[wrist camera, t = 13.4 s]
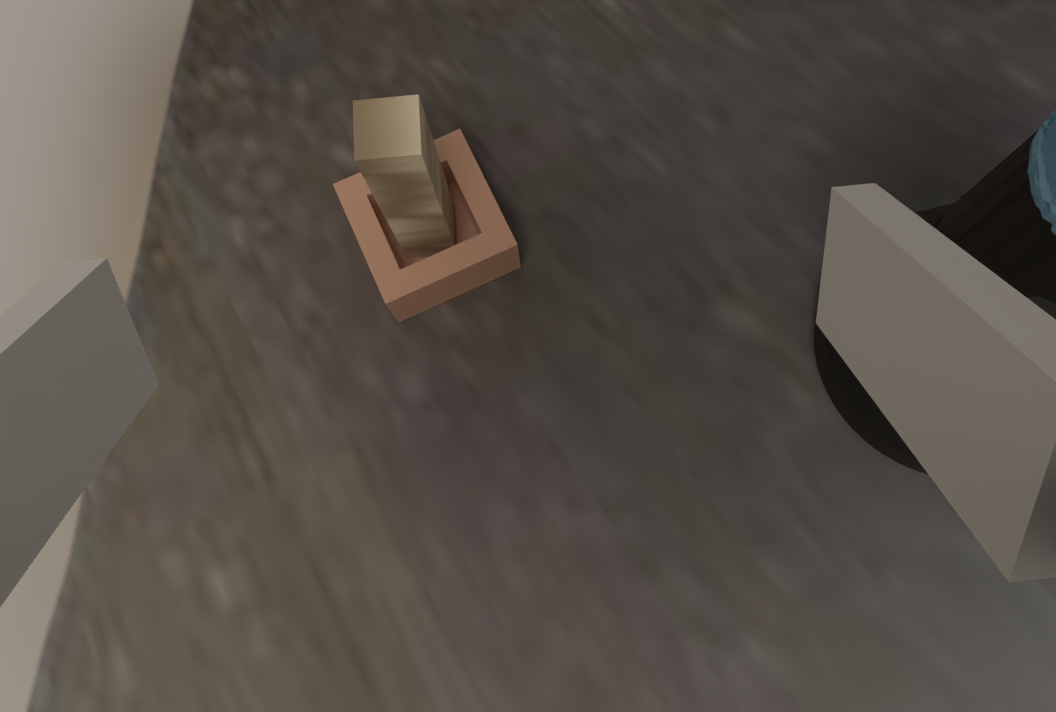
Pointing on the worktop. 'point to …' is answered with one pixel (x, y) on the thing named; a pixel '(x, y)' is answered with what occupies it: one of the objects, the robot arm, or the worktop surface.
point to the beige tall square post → (404, 173)
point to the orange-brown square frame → (444, 274)
